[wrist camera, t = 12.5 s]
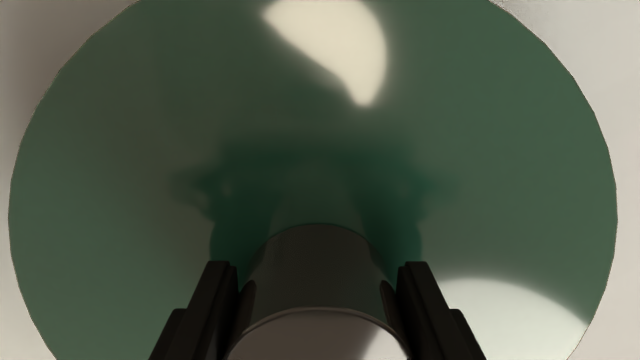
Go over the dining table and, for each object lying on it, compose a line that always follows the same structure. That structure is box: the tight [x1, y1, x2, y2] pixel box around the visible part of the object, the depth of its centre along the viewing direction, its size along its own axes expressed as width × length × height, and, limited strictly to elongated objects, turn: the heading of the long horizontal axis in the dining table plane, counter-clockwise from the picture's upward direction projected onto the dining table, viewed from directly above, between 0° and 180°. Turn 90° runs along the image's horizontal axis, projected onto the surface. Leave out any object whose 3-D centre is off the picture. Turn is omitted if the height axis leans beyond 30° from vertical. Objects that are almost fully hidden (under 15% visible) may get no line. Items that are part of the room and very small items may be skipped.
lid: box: [8, 0, 618, 360], centre depth 11 cm, size 18×18×5 cm
